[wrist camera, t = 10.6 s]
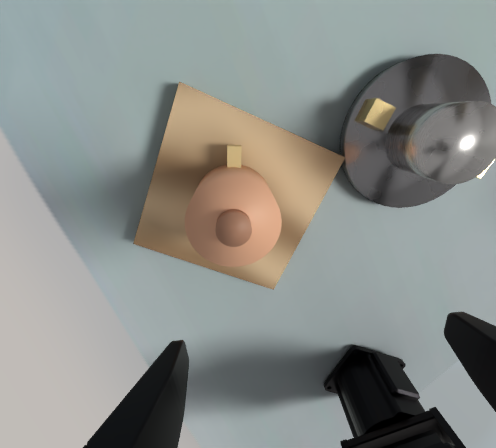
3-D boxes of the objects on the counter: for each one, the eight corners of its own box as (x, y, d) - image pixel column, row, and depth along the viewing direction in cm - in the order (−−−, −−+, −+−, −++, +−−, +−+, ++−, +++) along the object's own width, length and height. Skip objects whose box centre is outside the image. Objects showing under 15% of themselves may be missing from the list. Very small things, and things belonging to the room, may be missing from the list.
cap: (197, 251, 21) (186, 292, 16) (192, 143, 17) (177, 152, 13) (267, 251, 21) (278, 292, 16) (275, 145, 18) (290, 156, 13)
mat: (272, 282, 23) (273, 289, 22) (137, 238, 21) (133, 243, 20) (340, 155, 19) (345, 157, 18) (182, 83, 17) (179, 81, 16)
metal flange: (421, 220, 22) (471, 249, 17) (315, 175, 20) (339, 193, 15) (509, 97, 18) (602, 90, 14) (391, 27, 16) (452, -7, 12)
